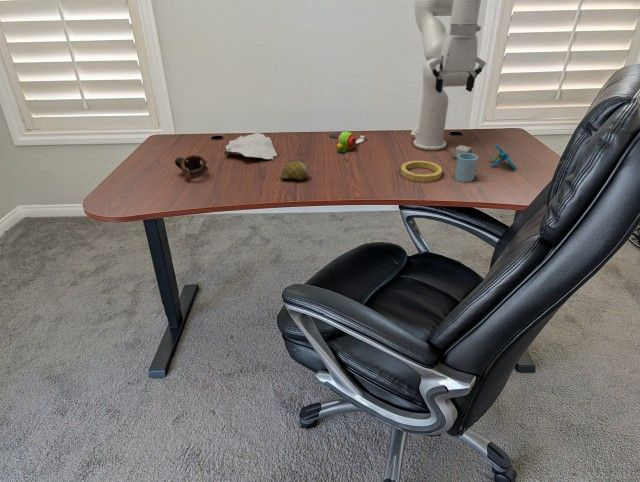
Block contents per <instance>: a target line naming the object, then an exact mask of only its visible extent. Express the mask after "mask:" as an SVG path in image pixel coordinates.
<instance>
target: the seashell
mask: <svg viewBox="0 0 640 482" xmlns="http://www.w3.org/2000/svg"><path fill="white" fill-rule="evenodd" d="M308 175H309V166H308V165H305V164H304V163H302V162H301V161H300V160H296V161H295V160H294V161H291V162H289V163H287V164H286V165H285V166H284V167H283V169H282V170H281V176H280V179H281V180H292V179H293V180H296V181H303V180H305V179H306V178H307V177H308Z"/></svg>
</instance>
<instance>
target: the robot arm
mask: <svg viewBox="0 0 640 482" xmlns="http://www.w3.org/2000/svg"><path fill="white" fill-rule="evenodd" d="M414 1H415V2H414V17H415V21H416V25H417V27H418V29H419V32H420V33H421V38H422V46H423V52H424V53H423V54H424V58H425V60H426V61H425V62H424V65H423V66H422V97H421V107H420V117H419V123H418V130H417V129H414V128H413V129H412V130H411V132H410V136H411V137H414V138H415V139H414V140H413V142H412V145H413V146H414V147H415V148H418V149H420V150H423V151H424V150H425V151H441V150H444V149H445V148H446V147H447V145H448V144H447V143H448V142H447V141H446V140H444V135H445V129H446V121H447V115H448V114H447V113H448V108H449V102H450V101H449V96H448V94H447V92H446V91H445V89H444V88H447V87H465V90H466V91H467V92H469V93H471V92H472V91H473V89H474V86H475V80H476V78H477V77H478V76H479V75H480V73H482V71H483V70H484V68H485V66H486V65H487V62H486V61H485V60H483V59H482V58H479V57H478V35H476V34H477V33H478V32H480V31H481V30H482V26H481V25H479V24H478V22H479V21H478V20H479V16H480V15H479V14H480V9H481V3H482V2H481V1H482V0H414ZM437 17H450V23H449V30H448V31H449V32H448V34H447V30H446V27H445V25H444V23H443V22H442V21H441V20H440V19H439V18H437ZM477 64H478V66H477V68H476V65H477Z"/></svg>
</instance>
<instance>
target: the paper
mask: <svg viewBox="0 0 640 482" xmlns="http://www.w3.org/2000/svg"><path fill="white" fill-rule="evenodd" d="M228 142H229V143H228V144H227V145H225V149H226V151H225V152H224V155H225V156H229V155H231V154H232V155H237V156H244V157H248V158H260V159H261V158H262V159H264V160H275V158H274V157H277V156H278V153H277V151H276V149H275V147H274V145H273V142H272V139H271V137H270V136H266V135H265V134H263V133H259V132H254V133H253V134H248V135H245V136H243V135H240V136H239V137H236V139H233V140H229V141H228Z"/></svg>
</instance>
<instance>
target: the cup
mask: <svg viewBox="0 0 640 482" xmlns="http://www.w3.org/2000/svg"><path fill="white" fill-rule="evenodd" d="M478 160H479V156H478V155H477V154H475V153H472V154H471V153H461V154H458V157H457V158H456V163H455V169H454V175H453V177H454V180H456V181H458V182H463V183H470V182H473V181H475V175H476V171H477V167H478V162H479V161H478Z"/></svg>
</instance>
